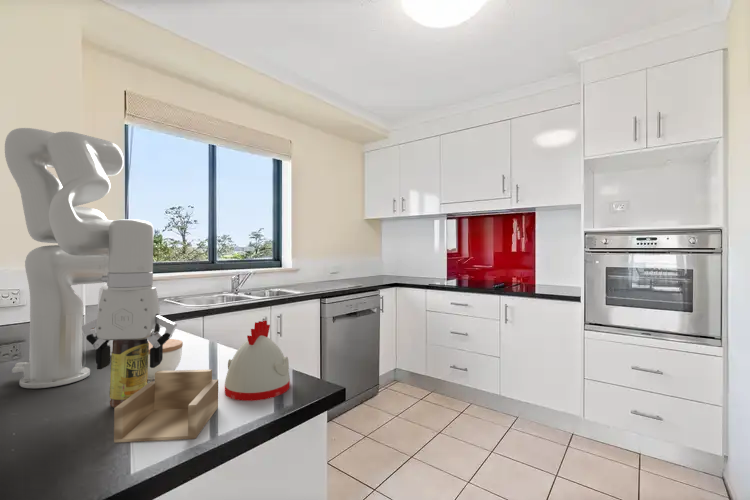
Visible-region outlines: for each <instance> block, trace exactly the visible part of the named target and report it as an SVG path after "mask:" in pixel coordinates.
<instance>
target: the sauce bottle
mask: <svg viewBox="0 0 750 500" xmlns="http://www.w3.org/2000/svg"><path fill="white" fill-rule="evenodd" d="M148 351H149V343H148V340H147V339H142V340H113V349H112V356H110V382H109V383H110V384H109V398H110V401H109V405H110V407H111V408H115V407H116V406H118V405H119V404H121V403H122V402H123V401H125V400H126V399H128V398H129V397H130V396H132V395H133V394H134V393H136V392H137V391H139V390H140V389H141V388H143V387H144V386H146V385H147V384H148V380H147V377H148Z"/></svg>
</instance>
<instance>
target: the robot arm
mask: <svg viewBox="0 0 750 500" xmlns="http://www.w3.org/2000/svg"><path fill="white" fill-rule="evenodd" d="M4 156H5V157H4V158H5V161H6V164H7V167H8V170H9V172H10V174H11V176H12V177H13V179H14V181H15V183H16V185H17V187H18V189H19V192H20V197H21V204H22V209H23V213H24V220H25V224H26V229H27V231H28V234H29V237H31V239H32V240H34V241H36V242H38V243H39V242H40V243H44V244H45V243H46V244H52V245H44V246H38V247H35V248H34V249H32V250H31V251H29V252H28V254H27V255H26V256H25V261H24V267H25V274H26V278H27V282H28V283H27V284H28V290H29V351H28V352H29V357H28V359H29V360H28V362H27V361H25V362H23V361H21V362H16V363H15V365H14V367H13V368H12V369H11V373H12V374H21V373H22V374H23V377H21V379H20V380H19V386H20V387H21V388H24V389H46V388H53V387H59V386H64V385H69V384H72V383H75V382H79V381H82V380H83V379H86V378H87V377H90V375H91V369H90V368H89V367H86V366H83V348H84V347H83V339H84V336H86V340H87V341H88V342H89V344H91V345H92V348H93V349H94V350H95V349H96V350H95V363H96V369H97V370H102V369H104V368H106V367H108V366H111V356H110V345H107V344H108V343H109V342H110V340H142V339H147V340H148V341H149V342H150V343H151V344H152V345H153V347H152V348H151V349H150V367H151V368H155V367H156V366H158V365H159V364H160V363H161V361H162V358H163V344H165V342H166V341H167V340H168V339H172V336H173V333H175V330H176V329H177V327H178V324H177V323H175V322H173V321H171V320H169V319H167V318H166V317H163V316H161V311H160V310H161V309H160V302H159V300H160V299H159V295H158V291H157V287H153V284H154V272H153V271H154V225H153V224H152V223H151V222H149V221H146V220H141V219H116V220H111V219H108V218H107V217H106V216H105V213H103V212H101V211H100V210H98V209H95V208H94V207H93V208H91V207H86V206H82V205H85V204H89V203H94V202H96V201H98V200H101V199H103V198H104V197H105V196H107V195H108V194H109V192H110V189H111V182H110V179H109V178H108V177H109V176H110V177H113V176H116V175H118V174H119V173H121V171H122V169H123V168H124V163H125V160H124V155H123V151H122V150H121V148H120V147H119V146H118V145H117V144H115V143H114V142H112V141H110V140H106V139H103V138H98V137H94V136H90V135H87V134H82V133H78V132H74V131H57V132H52V131H47V130H44V129H38V128H32V127H31V128H30V127H19V128H14V129H12V130H11V131H9V133H8V134H7V135H6V138H5V140H4ZM47 168H53V169H54V171H55V173H56V175H57V176H56V175H54V174H53V172H51V171H50V170H48V169H47ZM57 177H58V178H57ZM56 244H57V245H56ZM105 283H107V286H108V288H107V289H103V291H102V295H101V299H100V303H99V308H98V307H97V314H98V316H97V317H96V319H94V320H92V321H90V322H88V323H86V324H84V303H83V299H82V298H81V297H80V295H79V294H78V293H77V292H76V291H75V290H74V289H73V288H72V286H78V285H91V284H92V285H93V284H94V285H95V284H105ZM161 327H164V328H165V331H164V333H163V334H162V335H161V333H160V331H161ZM95 328H96V329H95ZM95 330H96V331H95ZM83 334H84V336H83Z"/></svg>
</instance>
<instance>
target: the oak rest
mask: <svg viewBox="0 0 750 500" xmlns="http://www.w3.org/2000/svg"><path fill="white" fill-rule="evenodd" d="M218 408H219V379H213V369H183V370H181V369H178V370H177V369H175V370H173V371H157V372H156V373H155V380H154V381H152V380H151V381H150V382H147V385H146V386H144V387H143V388H141V389H140V390H139V391H137V392H136V393H134V394H133V395H132V396H130V397H129V398H128V399H126V400H125V401H123V402H122V403H121V404H119V405H118V406H116V407H115V408H114V409H113V410H114V412H113V413H114V415H113V417H114V418H113V443H116V444H117V443H132V442H133V443H134V442H152V441H153V442H155V441H171V440H172V441H173V440H175V441H176V440H196V439H197V437H198V436H199V434H200V433H201V432H202V431H203V429H204V428H205V427H206V425H207V423H208V422H209V421H210V420H211V418H212V417H213V415H214V414H215V413H216V411H217V409H218Z"/></svg>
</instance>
